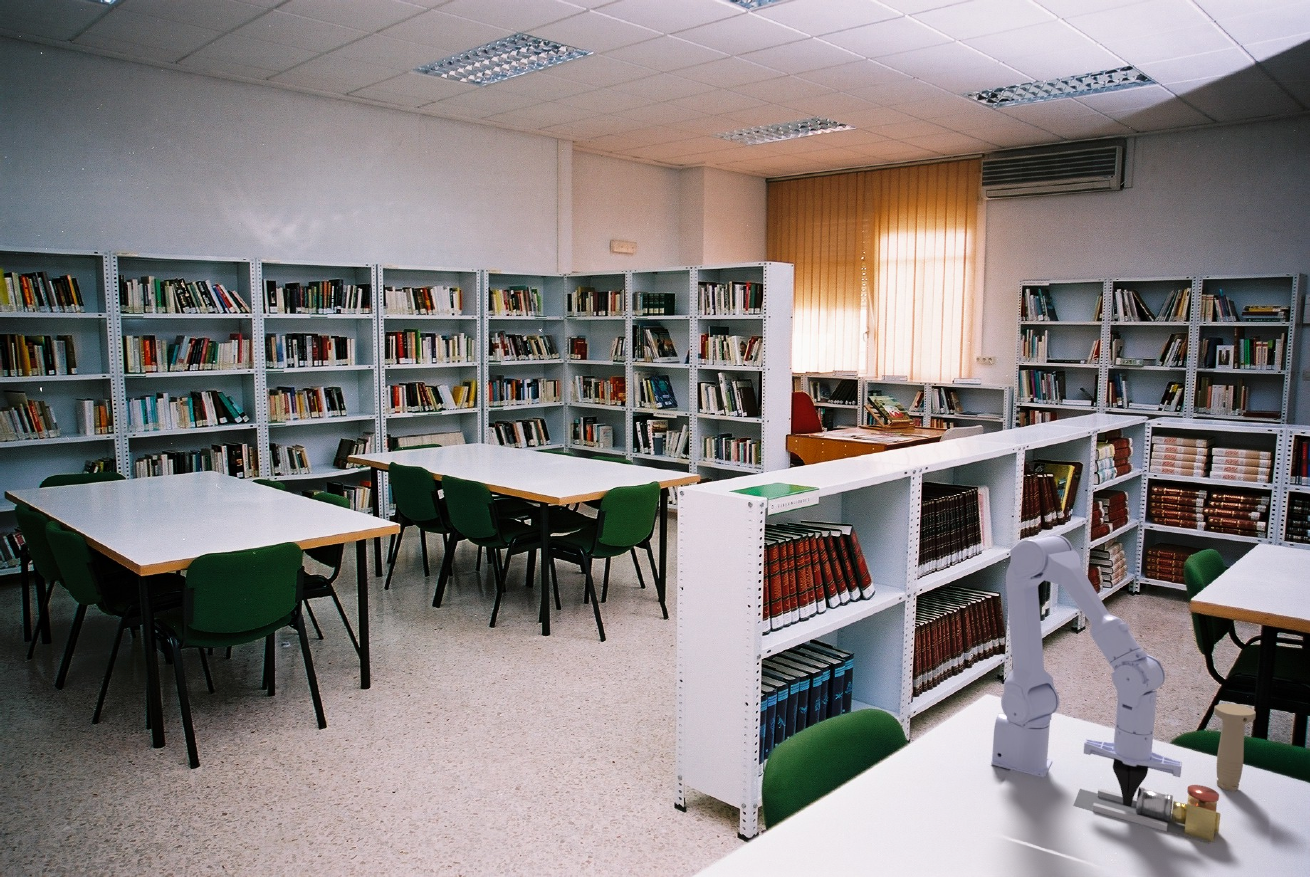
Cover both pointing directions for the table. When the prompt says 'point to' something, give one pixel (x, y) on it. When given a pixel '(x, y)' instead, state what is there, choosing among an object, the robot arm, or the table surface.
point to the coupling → (1154, 804)
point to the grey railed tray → (1126, 811)
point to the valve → (1198, 812)
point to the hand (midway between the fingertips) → (1127, 803)
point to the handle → (1231, 743)
